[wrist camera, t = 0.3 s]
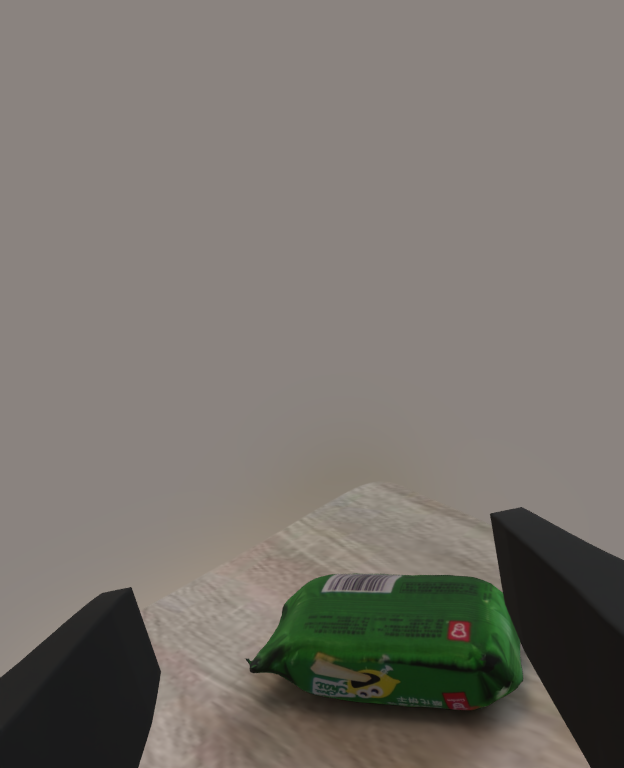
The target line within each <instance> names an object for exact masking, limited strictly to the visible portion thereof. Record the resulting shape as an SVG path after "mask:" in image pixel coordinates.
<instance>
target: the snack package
mask: <svg viewBox="0 0 624 768" xmlns="http://www.w3.org/2000/svg"><path fill="white" fill-rule="evenodd" d="M245 659H246V658H245ZM246 660H247V662H248V663H249V665H250V672H251V673H265V672H267V673H274V674H278V675H280V676H282V677H284V678H285V679H287V680H289V681H290V682H292V683H293V684H295V685H296V686H298V687H299V688H301V689H302V690H304V691H306V692H309V693H311V694H315V695H319V696H324V697H330V698H335V699H340V700H349V701H355V702H364V703H378V704H389V705H399V706H408V707H434V708H445V709H453V710H475V709H478V708H481V707H485V706H488V705H490V704H491V703H493V702H495V701H497V700H498V699H500V698H502V697H504V696H506V695H508V694H509V693H511V692H513V691H514V690H515V689H516V688H517V687H518V686H519V685H520V683H521V682H522V681H523V673H522V667H521V660H520V639H519V637H518V635H517V632H516V630H515V628H514V625H513V623H512V620H511V618H510V615H509V613H508V611H507V608H506V606H505V602H504V596H503V593H502V592H501V591H500V590H498V589H497V588H496V587H495V586H493V585H492V584H491V583H488V582H486V581H484V580H481V579H478V578H474V577H467V576H453V575H415V576H411V575H389V574H332V575H327V576H322V577H319V578H316V579H314V580H312V581H310V582H308V583H307V584H305V585H304V586H303V587H302V588H301V589H300V590H299V591H297V592H296V593H295V594H294V595H293V596H292V597H291V598H290V599H289V600H288V601H287V602H286V603H285V604H284V606H283V610H282V616H281V619H280V623H279V625H278V627H277V629H276V630H275V632H274V634H273V635H272V636H271V638H270V640H269V641H268V642H267V644H266V645H265V646H264V647H263V648H262V649H261V650H260V651H259V653H258V654H257V656H256V657H255V658H254V660H253V661H250V660H249V659H246Z"/></svg>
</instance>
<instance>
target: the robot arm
mask: <svg viewBox="0 0 624 768" xmlns="http://www.w3.org/2000/svg"><path fill="white" fill-rule="evenodd" d="M490 516H491V522H492V529H493V535H494V541H495V547H496V553H497V559H498V565H499V571H500V577H501V583H502V590H503V596H504V602H505V606H506V608H507V611H508V613H509V615H510V618H511V620H512V623H513V625H514V628H515V630H516V632H517V635H518V637H519V639H520V642H521V644H522V646H523V649H524V651H525V653H526V655H527V656H528V658H529V660H530V662H531V664H532V665H533V667H534V669H535V671H536V672H537V674H538V676H539V678H540V680H541V681H542V683H543V685H544V687H545V688H546V690H547V692H548V694H549V695H550V697H551V699H552V701H553V702H554V704H555V706H556V708H557V709H558V711H559V713H560V714H561V716H562V718H563V720H564V721H565V723H566V725H567V727H568V728H569V730H570V732H571V734H572V735H573V737H574V739H575V741H576V742H577V744H578V746H579V748H580V749H581V751H582V753H583V755H584V756H585V758H586V760H587V762H588V763H589V765H590V767H591V768H624V560H622V559H620V558H618V557H616V556H613V555H611V554H609V553H607V552H605V551H603V550H601V549H599V548H597V547H595V546H593V545H591V544H589V543H587V542H585V541H584V540H582V539H580V538H578V537H576V536H574V535H572V534H570V533H568V532H567V531H565V530H563V529H561V528H559V527H558V526H555V525H554V524H552V523H550V522H548V521H547V520H545V519H543V518H541V517H539V516H538V515H536V514H534V513H532V512H530V511H528V510H526V509H524V508H522V507H520V508H516V509H510V510H505V511H501V512H496V513H491V514H490ZM160 675H161V670H160V668H159V665H158V662H157V659H156V656H155V653H154V650H153V648H152V645H151V642H150V639H149V636H148V633H147V630H146V628H145V625H144V622H143V619H142V616H141V613H140V610H139V608H138V605H137V602H136V599H135V596H134V593H133V591H132V588H131V587H130V588H125V589H120V590H115V591H110V592H105V593H102V594H100V595H99V596H97V597H96V598H94V599H93V600H92V601H90V602H89V603H88V604H87V605H85V606H84V607H83V608H82V609H81V610H79V611H78V612H77V613H76V614H74V615H73V616H72V617H71V618H70V619H69V620H67V621H66V622H65V623H64V624H63V625H62V626H61V627H59V628H58V629H57V630H56V631H55V632H54V633H52V634H51V635H50V636H49V637H48V638H47V639H46V640H44V641H43V642H42V643H41V644H40V645H39V646H37V647H36V648H35V649H34V650H33V651H32V652H31V653H29V654H28V655H27V656H26V657H25V658H24V659H23V660H21V661H20V662H19V663H18V664H17V665H15V666H14V667H13V668H12V669H10V670H9V671H8V672H7V673H6V674H4V675H3V676H2V677H1V678H0V768H138V767H139V763H140V760H141V757H142V754H143V751H144V747H145V744H146V741H147V738H148V734H149V731H150V728H151V724H152V720H153V715H154V710H155V705H156V699H157V693H158V687H159V681H160Z"/></svg>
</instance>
